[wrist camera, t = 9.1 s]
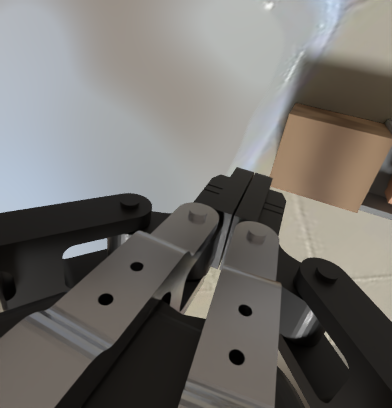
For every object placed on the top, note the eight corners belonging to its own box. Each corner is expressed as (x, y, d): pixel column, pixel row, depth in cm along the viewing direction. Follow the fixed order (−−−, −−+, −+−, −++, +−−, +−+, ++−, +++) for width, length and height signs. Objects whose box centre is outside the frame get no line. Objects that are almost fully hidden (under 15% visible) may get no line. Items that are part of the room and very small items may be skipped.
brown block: (275, 165, 37) (266, 185, 32) (295, 102, 33) (289, 113, 28) (353, 188, 34) (357, 213, 30) (384, 123, 31) (395, 139, 26)
